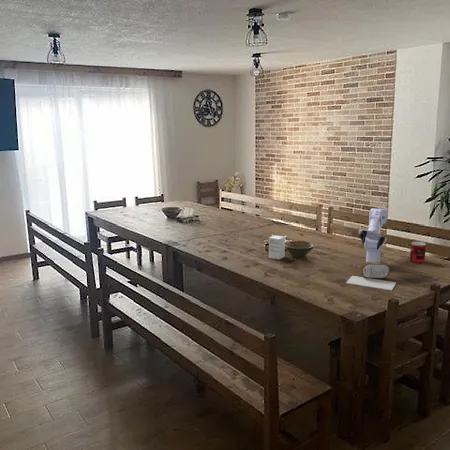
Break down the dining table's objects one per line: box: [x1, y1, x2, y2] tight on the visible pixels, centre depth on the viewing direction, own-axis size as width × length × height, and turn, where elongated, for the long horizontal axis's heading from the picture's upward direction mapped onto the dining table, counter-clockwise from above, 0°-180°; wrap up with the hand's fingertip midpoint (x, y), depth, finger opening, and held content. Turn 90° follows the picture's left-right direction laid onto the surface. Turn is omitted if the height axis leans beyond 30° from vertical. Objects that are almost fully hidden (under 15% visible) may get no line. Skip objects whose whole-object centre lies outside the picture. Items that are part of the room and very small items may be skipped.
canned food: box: [409, 241, 427, 264], centre depth 259 cm, size 8×8×11 cm
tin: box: [359, 261, 391, 280], centre depth 232 cm, size 15×3×8 cm, turn 92°
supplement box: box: [268, 235, 286, 260], centre depth 270 cm, size 7×7×13 cm
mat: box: [345, 275, 397, 292], centre depth 225 cm, size 12×22×1 cm, turn 60°
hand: (370, 245), depth 233 cm, fingers open, 7 cm apart
